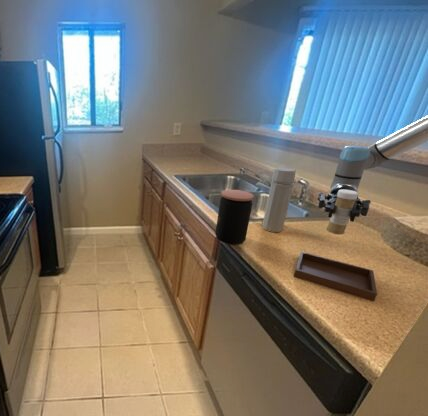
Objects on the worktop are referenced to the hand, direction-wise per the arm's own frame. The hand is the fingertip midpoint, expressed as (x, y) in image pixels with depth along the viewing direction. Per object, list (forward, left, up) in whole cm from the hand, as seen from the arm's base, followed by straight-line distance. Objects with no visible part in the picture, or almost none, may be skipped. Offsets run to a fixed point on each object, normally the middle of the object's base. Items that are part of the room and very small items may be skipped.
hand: (341, 215), depth 79 cm
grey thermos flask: (+18, -20, -18) cm, 33 cm away
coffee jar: (+29, -2, -18) cm, 34 cm away
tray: (-2, +5, -18) cm, 19 cm away
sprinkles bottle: (0, -5, -8) cm, 9 cm away
